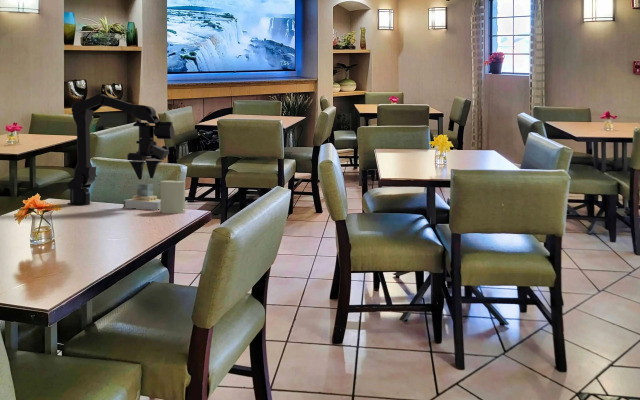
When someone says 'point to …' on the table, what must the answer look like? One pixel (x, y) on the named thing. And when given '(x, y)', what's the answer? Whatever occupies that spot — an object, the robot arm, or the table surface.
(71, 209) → the table surface
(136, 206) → the dock
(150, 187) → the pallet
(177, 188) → the can
